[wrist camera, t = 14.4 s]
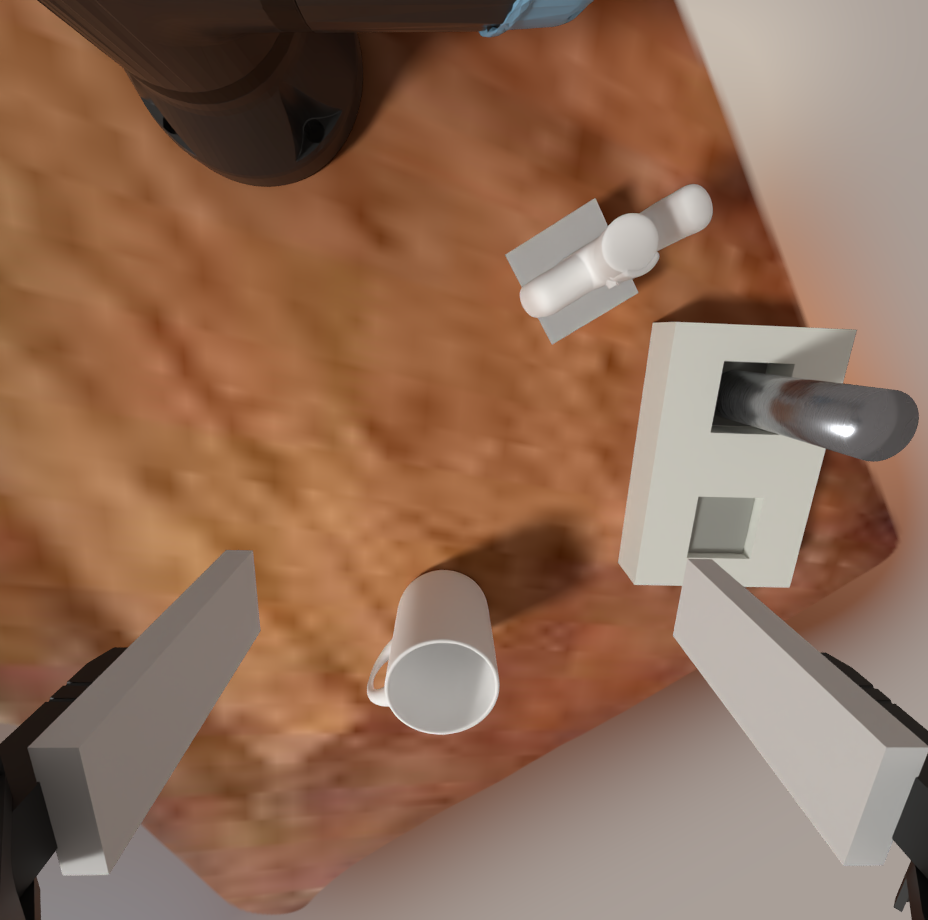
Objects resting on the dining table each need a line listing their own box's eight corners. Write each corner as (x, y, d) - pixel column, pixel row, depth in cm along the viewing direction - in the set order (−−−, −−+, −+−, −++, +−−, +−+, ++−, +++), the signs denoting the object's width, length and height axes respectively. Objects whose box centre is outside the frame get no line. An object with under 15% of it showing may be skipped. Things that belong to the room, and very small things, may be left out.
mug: (352, 610, 44) (323, 695, 34) (458, 550, 43) (462, 620, 33) (400, 672, 46) (387, 770, 36) (503, 618, 45) (520, 703, 35)
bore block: (652, 322, 38) (676, 321, 34) (816, 329, 39) (856, 329, 35) (618, 562, 44) (634, 584, 40) (759, 565, 44) (789, 587, 41)
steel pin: (712, 369, 38) (856, 388, 25) (758, 370, 38) (928, 390, 25) (703, 416, 39) (837, 460, 26) (749, 418, 39) (906, 462, 26)
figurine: (487, 270, 36) (513, 229, 22) (593, 203, 35) (694, 114, 21) (530, 350, 38) (581, 362, 24) (632, 288, 37) (750, 262, 23)
